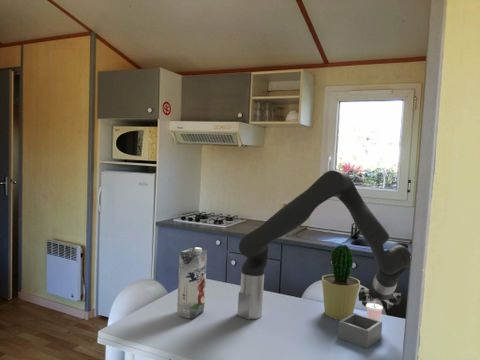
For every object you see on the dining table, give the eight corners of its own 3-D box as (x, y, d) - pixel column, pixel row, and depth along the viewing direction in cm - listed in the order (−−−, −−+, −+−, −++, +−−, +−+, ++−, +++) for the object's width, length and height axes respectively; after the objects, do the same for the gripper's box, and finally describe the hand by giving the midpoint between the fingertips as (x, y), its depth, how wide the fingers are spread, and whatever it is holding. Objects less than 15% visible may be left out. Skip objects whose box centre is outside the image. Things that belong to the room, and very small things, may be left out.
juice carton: (173, 316, 154) (177, 248, 153) (187, 307, 164) (190, 243, 162) (194, 321, 151) (197, 251, 149) (206, 311, 160) (209, 246, 159)
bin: (366, 348, 136) (368, 331, 135) (337, 337, 143) (339, 321, 143) (381, 337, 145) (382, 321, 144) (353, 328, 152) (354, 312, 152)
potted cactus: (353, 309, 172) (358, 241, 171) (361, 323, 157) (366, 249, 155) (317, 306, 174) (322, 238, 172) (321, 320, 158) (326, 246, 157)
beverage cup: (379, 333, 148) (381, 297, 148) (362, 329, 151) (365, 293, 151) (382, 328, 153) (385, 292, 153) (366, 324, 157) (369, 289, 156)
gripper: (404, 276, 139) (394, 297, 150) (362, 272, 141) (356, 294, 153) (407, 296, 134) (396, 316, 146) (363, 292, 136) (357, 312, 148)
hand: (376, 305), depth 149 cm, fingers open, 8 cm apart
